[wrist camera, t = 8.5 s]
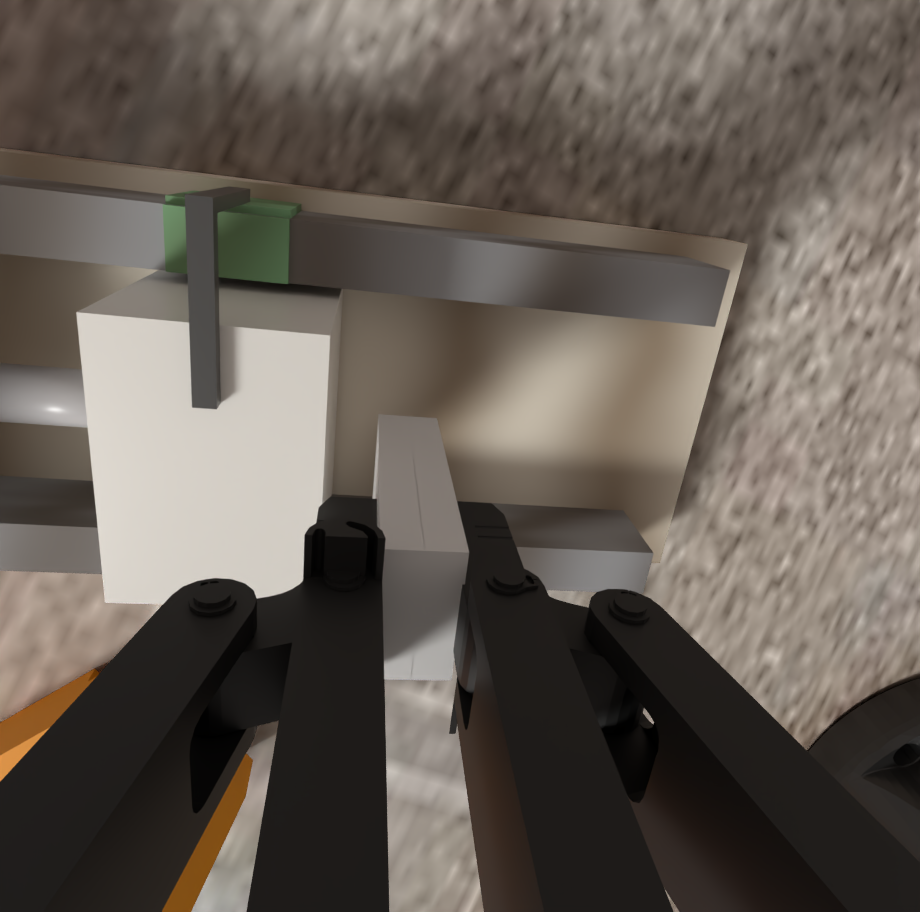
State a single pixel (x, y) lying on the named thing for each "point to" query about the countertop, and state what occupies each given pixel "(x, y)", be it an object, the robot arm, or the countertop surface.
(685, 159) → the countertop surface
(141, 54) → the countertop surface
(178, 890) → the bracket
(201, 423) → the gauge carriage
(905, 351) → the countertop surface
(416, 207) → the base
